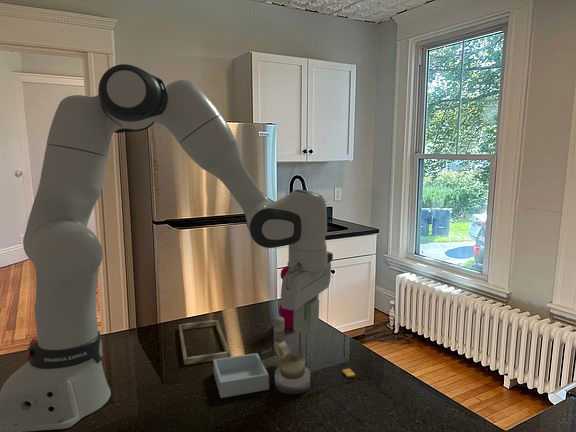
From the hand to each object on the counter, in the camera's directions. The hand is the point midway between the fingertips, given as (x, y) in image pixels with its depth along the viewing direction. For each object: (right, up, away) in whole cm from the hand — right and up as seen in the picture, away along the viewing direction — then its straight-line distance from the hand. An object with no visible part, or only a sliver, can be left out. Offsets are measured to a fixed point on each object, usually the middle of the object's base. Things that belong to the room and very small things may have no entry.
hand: (306, 316), depth 99 cm
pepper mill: (-4, -10, +28) cm, 30 cm away
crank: (-5, -11, -1) cm, 12 cm away
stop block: (0, -3, 0) cm, 3 cm away
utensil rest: (-28, -11, +17) cm, 35 cm away
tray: (-15, -14, -3) cm, 21 cm away
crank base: (+2, -14, -3) cm, 14 cm away
